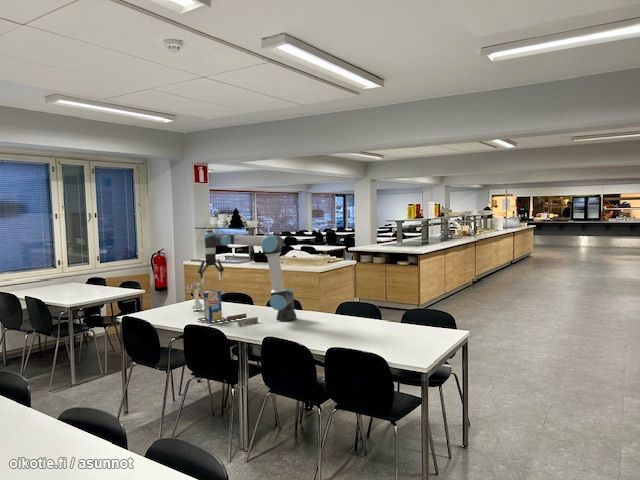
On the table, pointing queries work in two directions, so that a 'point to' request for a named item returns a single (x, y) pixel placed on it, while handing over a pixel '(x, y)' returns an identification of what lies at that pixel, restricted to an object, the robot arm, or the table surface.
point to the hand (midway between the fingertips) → (211, 281)
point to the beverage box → (212, 306)
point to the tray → (212, 322)
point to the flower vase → (196, 294)
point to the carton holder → (243, 321)
